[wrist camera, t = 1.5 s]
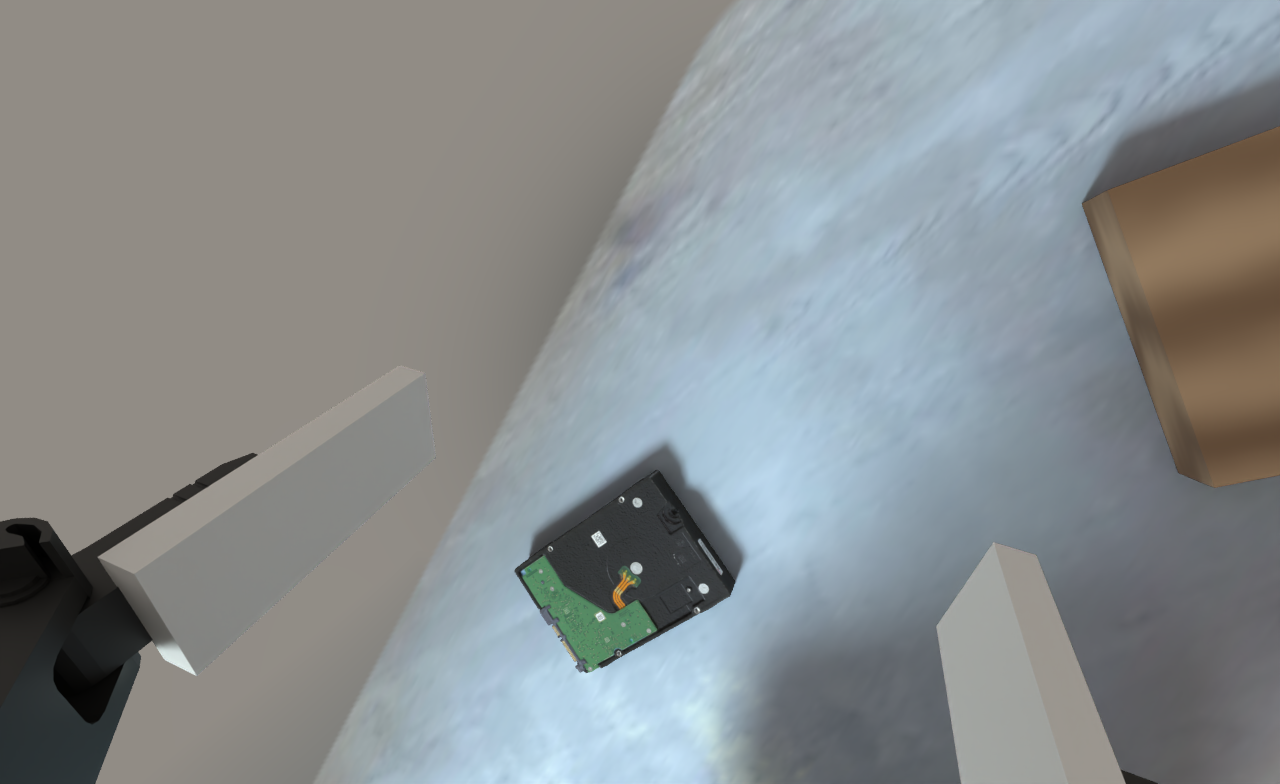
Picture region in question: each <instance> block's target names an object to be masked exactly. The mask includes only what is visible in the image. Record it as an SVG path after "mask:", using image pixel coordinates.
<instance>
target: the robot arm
mask: <svg viewBox="0 0 1280 784" xmlns="http://www.w3.org/2000/svg"><path fill="white" fill-rule="evenodd" d="M435 458H436V453H435V446H434V438H433V430H432V423H431V414H430V406H429V398H428V390H427V382H426V374H425V373H424V372H421V371H417V370H414V369H411V368H407V367H404V366H400V365H399V366H398V367H396V368H395V369H393V370H391V371H390V372H388V373H387V374H385V375H383V376H382V377H380V378H379V379H377V380H376V381H374V382H372V383H371V384H370V385H368V386H366V387H365V388H363V389H361V390H360V391H358V392H357V393H355V394H353V395H352V396H350V397H349V398H347V399H346V400H344V401H342V402H341V403H339V404H338V405H336V406H335V407H333V408H331V409H330V410H328V411H327V412H325V413H324V414H322V415H321V416H319V417H317V418H316V419H314V420H313V421H311V422H309V423H308V424H306V425H305V426H303V427H301V428H300V429H298V430H297V431H295V432H294V433H292V434H290V435H289V436H287V437H286V438H284V439H283V440H281V441H279V442H278V443H276V444H275V445H273V446H272V447H270V448H269V449H267V450H265V451H264V452H262V453H261V454H259V455H257V454H254V453H251V454H249V455H246V456H243V457H241V458H238V459H235V460H232V461H230V462H227V463H224V464H222V465H220V466H219V467H217V468H215V469H214V470H212V471H210V472H209V473H207V474H205V475H204V476H202V477H201V478H199V479H197V480H196V481H195V484H193V485H191V484H189V485H188V486H186V487H185V488H183V489H181V490H180V491H178V492H176V493H175V494H173V497H172V498H166V499H165V500H163V501H161V502H160V503H158V504H157V505H155V506H153V507H152V508H150V509H149V510H147V511H145V512H143V513H142V514H140V515H139V516H137V517H135V518H134V519H132V520H130V521H129V522H128V523H126V524H124V525H122V526H121V527H119V528H117V529H116V530H114V531H113V532H111V533H109V534H108V535H106V536H104V537H103V538H101V539H100V540H98V541H96V542H95V543H93V544H91V545H90V546H88V547H86V548H85V549H83V550H81V551H79V552H77V553H75V554H73V555H72V556H71V555H70V553H69V552H68V550H67V549H66V547H65V546H64V544H63V543H62V542H61V540H60V539H59V537H58V536H57V534H56V533H55V532H54V530H53V529H52V527H51V526H50V524H49V523H48V522H47V521H44V520H40V519H37V518H16V519H10V520H6V521H2V522H0V784H95V783H96V780H97V777H98V775H99V772H100V770H101V767H102V764H103V762H104V759H105V756H106V754H107V751H108V748H109V746H110V743H111V741H112V738H113V735H114V733H115V730H116V728H117V725H118V723H119V720H120V717H121V715H122V712H123V709H124V707H125V704H126V702H127V699H128V696H129V694H130V691H131V689H132V686H133V684H134V681H135V678H136V676H137V673H138V671H139V668H140V660H141V656H140V654H139V653H138V651H139V650H141V649H142V648H143V647H144V646H145V645H147V644H148V643H149V642H151V641H153V643H154V644H155V646H156V647H157V649H158V650H159V652H160V653H161V655H162V656H163V658H164V660H166V661H168V662H170V663H172V664H174V665H176V666H178V667H180V668H182V669H184V670H186V671H188V672H190V673H192V674H194V675H196V676H198V675H199V674H200V673H201V672H202V671H203V670H204V669H205V668H206V667H207V666H208V665H209V664H211V663H212V662H213V661H214V660H215V659H216V658H217V657H218V656H219V655H220V654H222V653H223V652H224V651H225V650H226V649H227V648H228V647H229V646H230V645H231V644H233V643H234V642H235V641H236V640H237V639H238V638H239V637H240V636H241V635H242V634H244V632H246V631H247V630H248V629H249V628H250V627H251V626H252V625H253V624H254V623H256V622H257V621H258V620H259V619H260V618H261V617H262V616H263V615H264V614H265V613H267V612H268V611H269V610H270V609H271V608H272V607H273V606H274V605H275V604H276V603H277V602H279V600H281V599H282V598H283V597H284V596H285V595H286V594H287V593H288V592H289V591H291V590H292V589H293V588H294V587H295V586H296V585H297V584H298V583H299V582H300V581H302V580H303V579H304V578H305V577H306V576H307V575H308V574H309V573H310V572H311V571H312V570H314V569H315V568H316V567H317V566H318V565H319V564H320V563H321V562H322V561H323V560H324V559H326V558H327V557H328V556H329V555H330V554H331V553H332V552H333V551H334V550H335V549H336V548H338V547H339V546H340V545H341V544H342V543H343V542H344V541H345V540H346V539H347V538H348V537H350V536H351V535H352V534H353V533H354V532H355V531H356V530H357V529H358V528H359V527H361V526H362V525H363V524H364V523H365V522H366V521H367V520H368V519H369V518H370V517H371V516H373V515H374V514H375V513H376V512H377V511H378V510H379V509H380V508H381V507H382V506H383V505H384V504H386V503H387V502H388V501H389V500H390V499H391V498H392V497H393V496H395V495H396V494H397V493H398V492H399V491H400V490H401V489H402V488H403V487H404V486H405V485H407V484H408V483H409V482H410V481H411V480H412V479H413V478H414V477H415V476H416V475H418V474H419V473H420V472H421V471H422V470H423V469H424V468H425V467H426V466H427V465H428V464H430V463H431V462H432V461H433V460H434V459H435ZM936 628H937V634H938V641H939V647H940V653H941V660H942V666H943V672H944V679H945V685H946V691H947V698H948V704H949V710H950V717H951V723H952V729H953V736H954V742H955V748H956V755H957V761H958V768H959V774H960V780H961V784H1158V783H1155V782H1153V781H1150V780H1147V779H1144V778H1142V777H1139V776H1136V775H1134V774H1131V773H1128V772H1125V771H1123V770H1120V768H1119V765H1118V762H1117V760H1116V757H1115V755H1114V752H1113V750H1112V747H1111V745H1110V742H1109V739H1108V737H1107V734H1106V732H1105V729H1104V727H1103V724H1102V722H1101V719H1100V716H1099V714H1098V711H1097V709H1096V706H1095V704H1094V701H1093V699H1092V696H1091V693H1090V691H1089V688H1088V686H1087V683H1086V681H1085V678H1084V676H1083V673H1082V670H1081V668H1080V665H1079V663H1078V660H1077V658H1076V655H1075V653H1074V650H1073V647H1072V645H1071V642H1070V640H1069V637H1068V635H1067V632H1066V630H1065V627H1064V624H1063V622H1062V619H1061V617H1060V614H1059V612H1058V609H1057V607H1056V604H1055V602H1054V599H1053V596H1052V594H1051V591H1050V589H1049V586H1048V584H1047V581H1046V579H1045V576H1044V573H1043V571H1042V568H1041V566H1040V563H1039V561H1038V558H1037V556H1036V555H1035V554H1031V553H1028V552H1025V551H1021V550H1018V549H1015V548H1011V547H1008V546H1004V545H1001V544H998V543H994V542H993V544H992V545H991V546H990V548H989V549H988V551H987V552H986V554H985V555H984V557H983V558H982V560H981V561H980V563H979V564H978V566H977V567H976V569H975V570H974V571H973V573H972V574H971V576H970V577H969V579H968V580H967V582H966V583H965V585H964V586H963V588H962V589H961V591H960V592H959V594H958V595H957V596H956V598H955V599H954V601H953V602H952V604H951V605H950V607H949V608H948V610H947V611H946V613H945V614H944V616H943V617H942V619H941V620H940V621H939V623H938V624H937V626H936Z"/></svg>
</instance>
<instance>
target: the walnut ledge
mask: <svg viewBox="0 0 1280 784" xmlns="http://www.w3.org/2000/svg"><path fill="white" fill-rule="evenodd" d="M1082 206H1083V209H1084V212H1085V214H1086V217H1087V220H1088V223H1089V225H1090V228H1091V231H1092V234H1093V237H1094V239H1095V242H1096V245H1097V248H1098V250H1099V253H1100V256H1101V259H1102V262H1103V264H1104V267H1105V270H1106V273H1107V276H1108V278H1109V281H1110V284H1111V287H1112V289H1113V292H1114V295H1115V298H1116V301H1117V303H1118V306H1119V309H1120V312H1121V315H1122V317H1123V320H1124V323H1125V326H1126V328H1127V331H1128V334H1129V337H1130V340H1131V342H1132V345H1133V348H1134V351H1135V353H1136V356H1137V359H1138V362H1139V365H1140V367H1141V370H1142V373H1143V376H1144V379H1145V381H1146V384H1147V387H1148V390H1149V392H1150V395H1151V398H1152V401H1153V404H1154V406H1155V409H1156V412H1157V415H1158V417H1159V420H1160V423H1161V426H1162V429H1163V431H1164V434H1165V437H1166V440H1167V443H1168V445H1169V448H1170V451H1171V454H1172V456H1173V459H1174V462H1175V465H1176V468H1177V470H1178V473H1179V474H1182V475H1184V476H1187V477H1189V478H1192V479H1194V480H1196V481H1199V482H1201V483H1204V484H1206V485H1209V486H1211V487H1214V488H1216V487H1221V486H1227V485H1232V484H1237V483H1242V482H1247V481H1252V480H1258V479H1263V478H1268V477H1273V476H1278V475H1280V126H1279V127H1276V128H1274V129H1271V130H1268V131H1265V132H1263V133H1260V134H1257V135H1255V136H1252V137H1249V138H1247V139H1244V140H1241V141H1239V142H1236V143H1233V144H1230V145H1228V146H1225V147H1222V148H1220V149H1217V150H1214V151H1212V152H1209V153H1206V154H1204V155H1201V156H1198V157H1195V158H1193V159H1190V160H1187V161H1185V162H1182V163H1179V164H1177V165H1174V166H1171V167H1169V168H1166V169H1163V170H1160V171H1158V172H1155V173H1152V174H1150V175H1147V176H1144V177H1142V178H1139V179H1136V180H1134V181H1131V182H1128V183H1125V184H1123V185H1120V186H1117V187H1115V188H1112V189H1109V190H1107V191H1105V192H1103V193H1101V194H1099V195H1097V196H1095V197H1094V198H1092V199H1090V200H1088V201H1086V202H1084V203H1082Z"/></svg>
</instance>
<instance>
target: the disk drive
mask: <svg viewBox="0 0 1280 784" xmlns="http://www.w3.org/2000/svg"><path fill="white" fill-rule="evenodd" d="M515 573H516V575H517V576H518V578H519V579H520V581H521V583H522V584H523V586H524V587H525V589H526V590H527V592H528V593H529V595H530V597H531V598H532V600H533V601H534V603H535V604H536V606H537V608H538V609H540V613H541V615H542V617H543V618H544V620H545V621H546V623H547V624H548V625H550V624H553V626H552V628H553V629H554V631H555V632H556V634H557V636H558V638H559V637H561V638H562V639H561V640H560V641H561V642H562V643H563V645H564V646H565V648H566V649H567V651H568V652H569V654H570V656H571V657H572V659H573V660H574V662H576V661H577V664H578V665H577V666H575V667H576V669H578V670H579V672H582V671H584V672H586V673H588V672H592V671H594V670H595V669H597V668H599V667H600V668H603V667H605V666H607V665H609V664H610V663H612V662H613V661H615V660H616V659H618V658H620V657H622V656H623V655H625V654H627V653H629V652H630V651H632V650H635V649H636V648H638V647H640V646H642V645H644V644H645V643H647V642H649V641H651V640H653V639H655V638H656V637H658V636H660V635H661V634H663V633H665V632H667V631H669V630H670V629H672V628H674V627H676V626H678V625H679V624H681V623H683V622H685V621H687V620H689V619H690V618H692V617H694V616H696V615H697V614H699V613H702V612H704V611H706V610H708V609H710V608H712V607H713V606H715V605H716V604H717V603H719V602H721V601H723V600H724V599H726V598H727V597H730V595H731V592H732V590H733V587H734V584H735V580H734V579H733V577H732V576H731V574H730V573H729V571H728V570H727V569H726V567H725V566H724V564H723V563H722V561H721V560H720V558H719V557H718V555H717V554H716V553H715V551H714V550H713V548H712V547H711V545H710V544H709V542H708V541H707V539H706V538H705V537H704V535H703V534H702V532H701V531H700V529H699V528H698V526H697V525H696V523H695V522H694V521H693V519H692V518H691V516H690V515H689V513H688V512H687V510H686V509H685V507H684V506H683V505H682V503H681V502H680V500H679V499H678V497H677V496H676V495H675V493H674V491H673V490H672V489H671V488H670V486H669V485H668V483H667V482H666V480H665V479H664V477H663V476H662V474H661V473H660V471H658V470H656V471H654V472H653V473H652V474H650V475H649V476H647V477H646V478H643V479H642V480H640V481H639V482H637V483H636V484H634V485H633V486H632V487H630V488H629V489H628V490H627V491H625V492H624V493H623V494H622V495H620V496H619V497H617V498H616V499H614V500H613V501H612V502H610V503H609V504H607V505H606V506H605V507H603V508H602V509H600V510H599V511H597V512H596V513H594V514H593V515H591V516H590V517H588V518H587V519H586V520H584V521H583V522H581V523H580V524H579V525H577V526H576V527H574V528H573V529H571V530H570V531H568V532H567V533H565V534H564V535H562V536H561V537H560V538H558V539H557V540H555V541H554V542H551V543H549V544H548V545H547V546H545V547H544V548H542V549H541V550H540V551H539V552H537V553H536V554H534V555H533V556H531V557H530V558H529V559H528V560H526V561H525V562H523V563H522V564H521V565H520V566H518V567H517V568H516V569H515Z"/></svg>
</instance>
